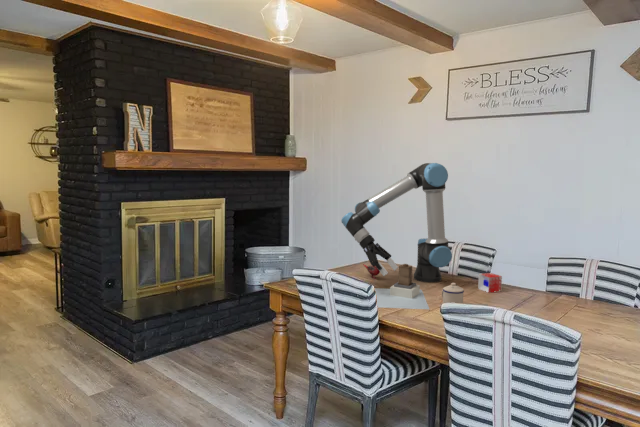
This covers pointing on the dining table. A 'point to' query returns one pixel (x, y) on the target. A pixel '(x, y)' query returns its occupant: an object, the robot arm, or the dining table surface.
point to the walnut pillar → (405, 275)
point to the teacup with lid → (452, 293)
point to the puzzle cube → (489, 282)
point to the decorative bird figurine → (372, 270)
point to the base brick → (405, 290)
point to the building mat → (400, 300)
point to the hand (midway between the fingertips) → (391, 271)
